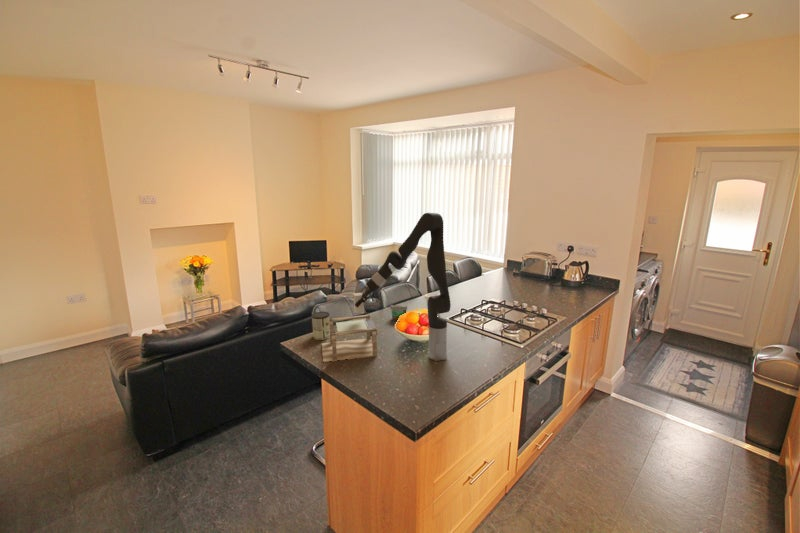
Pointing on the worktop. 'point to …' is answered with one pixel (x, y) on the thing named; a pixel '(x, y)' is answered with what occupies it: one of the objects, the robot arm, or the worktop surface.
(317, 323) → the coffee can
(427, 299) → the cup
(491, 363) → the worktop surface
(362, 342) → the trapdoor frame
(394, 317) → the food container
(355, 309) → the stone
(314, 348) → the worktop surface
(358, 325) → the trapdoor
